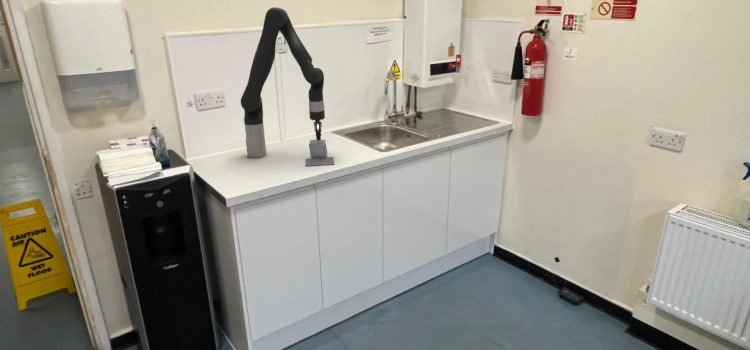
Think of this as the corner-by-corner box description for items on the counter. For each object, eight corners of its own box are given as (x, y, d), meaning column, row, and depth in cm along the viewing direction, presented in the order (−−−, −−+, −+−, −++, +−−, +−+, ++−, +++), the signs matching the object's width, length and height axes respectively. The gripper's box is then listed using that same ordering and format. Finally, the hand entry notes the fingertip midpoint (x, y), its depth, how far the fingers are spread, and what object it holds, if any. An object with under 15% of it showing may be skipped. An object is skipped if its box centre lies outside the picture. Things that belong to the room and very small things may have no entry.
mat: (305, 166, 223) (305, 165, 223) (305, 159, 234) (305, 158, 233) (334, 164, 225) (334, 164, 225) (333, 157, 235) (333, 156, 235)
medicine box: (327, 152, 238) (325, 139, 232) (326, 158, 235) (324, 145, 229) (312, 152, 239) (309, 139, 233) (310, 158, 235) (308, 144, 230)
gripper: (309, 107, 235) (311, 139, 241) (309, 112, 223) (311, 147, 229) (323, 106, 236) (325, 139, 242) (324, 112, 224) (326, 146, 230)
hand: (318, 143), depth 235 cm, fingers closed
